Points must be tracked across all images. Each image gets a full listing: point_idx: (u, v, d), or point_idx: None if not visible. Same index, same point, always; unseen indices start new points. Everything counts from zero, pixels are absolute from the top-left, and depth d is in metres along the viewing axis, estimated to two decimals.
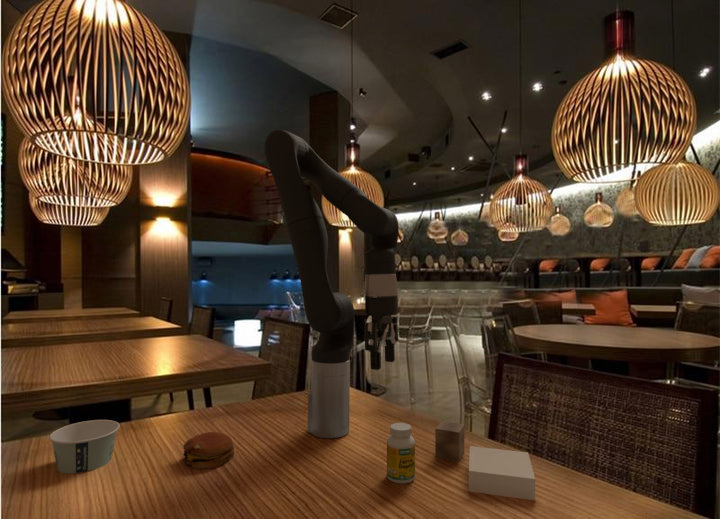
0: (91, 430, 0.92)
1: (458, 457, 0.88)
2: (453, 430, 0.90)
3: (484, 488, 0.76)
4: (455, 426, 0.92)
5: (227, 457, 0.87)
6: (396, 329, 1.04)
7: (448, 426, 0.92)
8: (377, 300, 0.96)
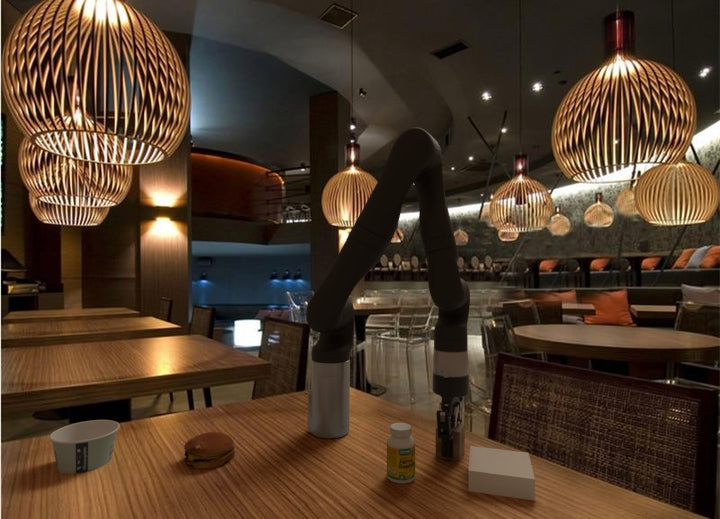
0: (91, 430, 0.92)
1: (458, 457, 0.88)
2: None
3: (484, 488, 0.76)
4: None
5: (228, 457, 0.87)
6: (461, 409, 0.96)
7: None
8: (449, 380, 0.88)
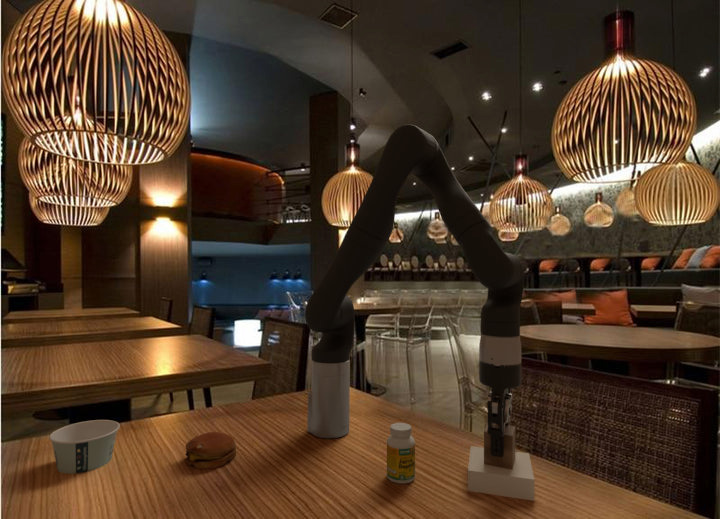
0: (91, 430, 0.92)
1: (511, 464, 0.78)
2: (505, 433, 0.79)
3: (483, 488, 0.76)
4: (506, 428, 0.81)
5: (229, 457, 0.87)
6: None
7: None
8: (500, 369, 0.77)
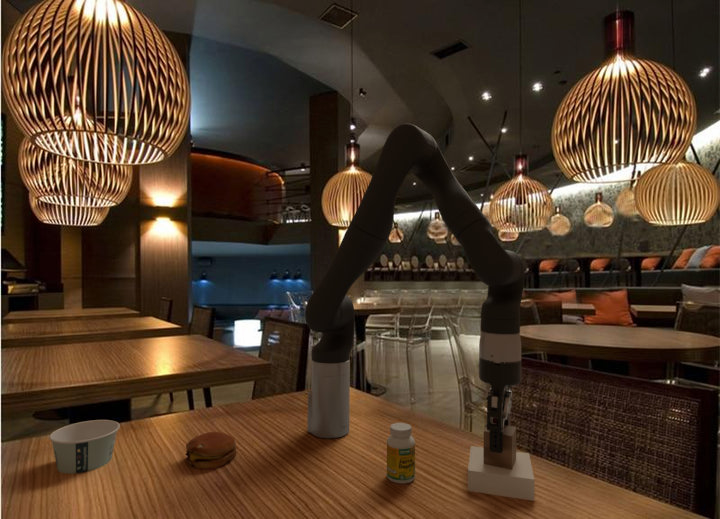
0: (91, 430, 0.92)
1: (510, 464, 0.77)
2: (504, 433, 0.79)
3: (483, 488, 0.76)
4: (506, 429, 0.81)
5: (229, 457, 0.87)
6: None
7: None
8: (500, 366, 0.77)
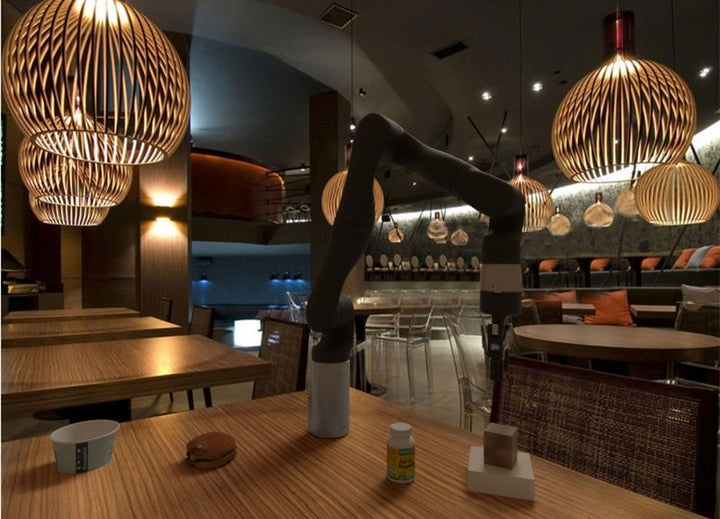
0: (91, 430, 0.92)
1: (510, 464, 0.77)
2: (504, 433, 0.79)
3: (484, 488, 0.76)
4: (507, 429, 0.81)
5: (230, 457, 0.87)
6: None
7: (498, 428, 0.81)
8: (501, 296, 0.78)
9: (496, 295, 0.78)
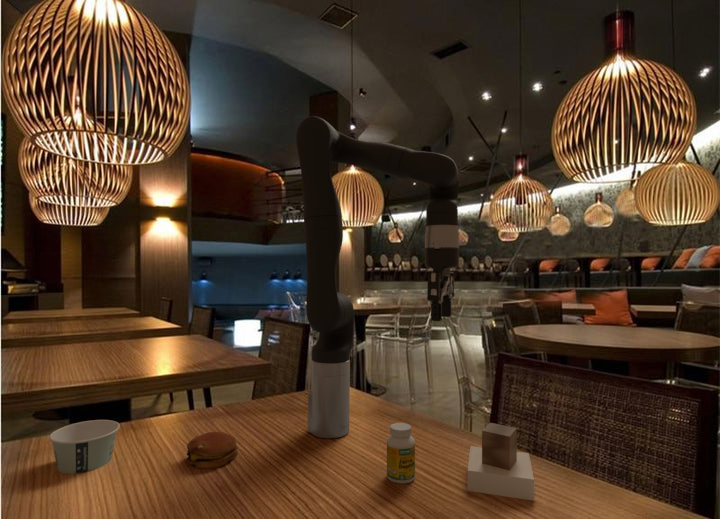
0: (91, 430, 0.92)
1: (508, 465, 0.77)
2: (503, 433, 0.78)
3: (483, 488, 0.76)
4: (506, 429, 0.81)
5: (230, 457, 0.87)
6: (453, 284, 1.02)
7: (497, 428, 0.81)
8: (440, 251, 0.94)
9: (436, 250, 0.94)
